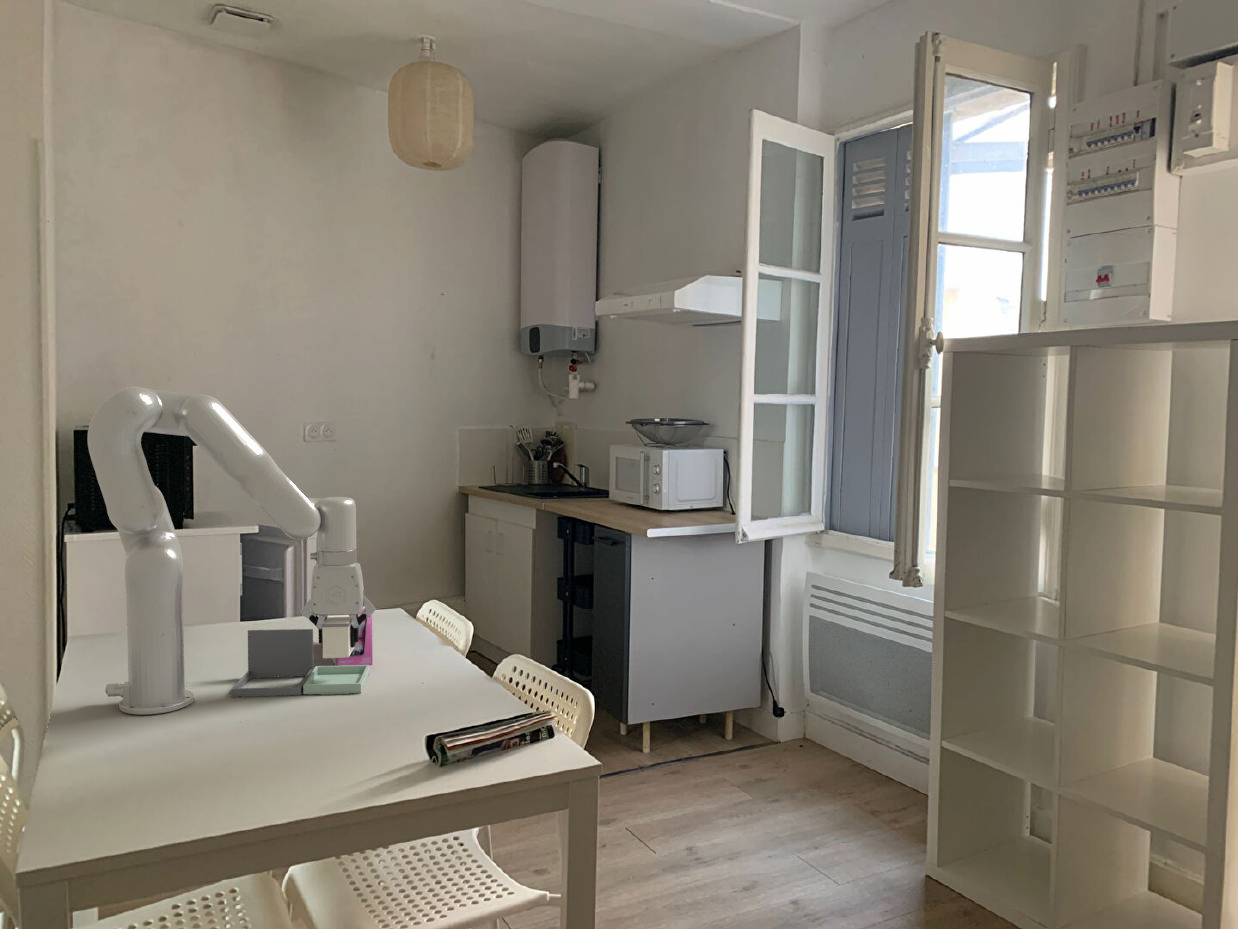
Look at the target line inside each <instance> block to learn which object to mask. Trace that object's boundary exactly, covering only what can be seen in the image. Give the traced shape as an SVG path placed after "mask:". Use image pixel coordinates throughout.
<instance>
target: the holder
mask: <svg viewBox="0 0 1238 929" xmlns="http://www.w3.org/2000/svg"><path fill="white" fill-rule="evenodd" d="M313 670H314V629H313V628H285V629H284V628H283V629H281V628H279V629H248V630H247V672H246V673H245V674H243V675H242V677H241V678H240V679H239V680H238V681H237V683H236V684H235V685H234V686H233V687H232V688H231V690H230V691H231V698H238V697H239V696H241V697H242V698H243V697H273V696H274V697H275V696H276V697H278V696H277V695H284V696H301V695H302V694H303V685H304V683H305V682H306V680H307V679H308V677H309V676H310V674H311V673H312V671H313ZM278 676H279V677H278ZM282 676H286V677H285V678H288V677H287V676H305V677H304V678H303V680H302V681H301V683H300V684H299V686H281V687H276V686H275V687H247V688H246V687H245V688H244V686H245V685H246V684H247V683H246V682H247V681H248V682H249V681H250V679H251V677H264V678H283V677H282ZM301 693H302V694H301ZM241 697H239V698H241Z"/></svg>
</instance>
